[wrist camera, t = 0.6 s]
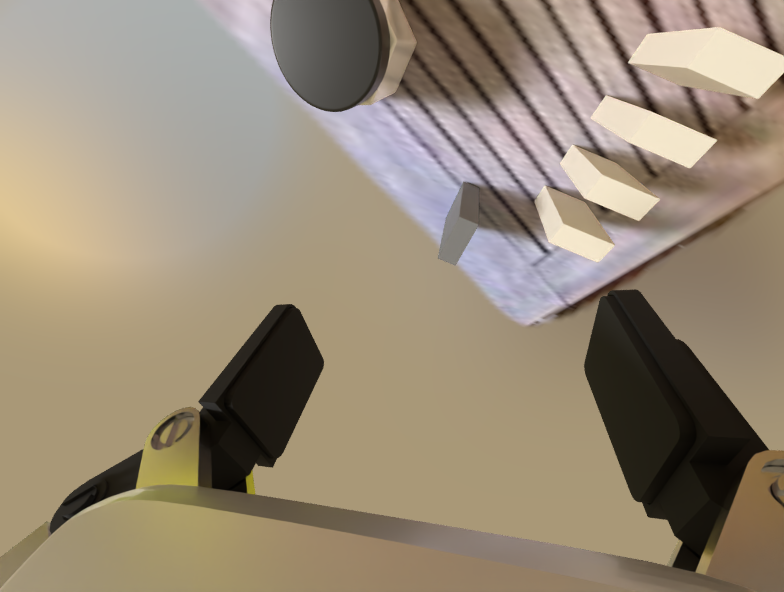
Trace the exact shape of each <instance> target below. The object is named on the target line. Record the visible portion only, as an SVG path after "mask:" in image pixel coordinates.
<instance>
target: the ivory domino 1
mask: <svg viewBox="0 0 784 592" xmlns="http://www.w3.org/2000/svg"><path fill="white" fill-rule="evenodd" d="M628 63H629V64H631V65H634V66H636V67H638V68H641V69H643V70H645V71H647V72H650V73H652V74H654V75H657V76H659V77H661V78H663V79H666V80H668V81H670V82H673V83H675V84H677V85H680V86H686V87H692V88H697V89H703V90H709V91H714V92H720V93H726V94H732V95H737V96H743V97H749V98H755V99H759V98H760V97H761V95H762V94H763V93H764V92H765V91H766V90H767V89H768V88H769V87H770V86H771V85H772V84H773V83H774V82H775V81H776V80H777V79H778V78H779V77H780V76H781V75H782V74H783V73H784V56H783V55H781V54H778V53H776V52H774V51H772V50H770V49H767V48H765V47H763V46H761V45H758V44H756V43H754V42H752V41H749V40H747V39H745V38H743V37H740V36H738V35H736V34H734V33H731V32H729V31H727V30H725V29H723V28H720V27H715V28H705V29H695V30H685V31H674V32H664V33H654V34H647V35H646V37H645V38H644V40H643V41H642V43H641V44H640V46H639V47H638V49H637V50H636V52H635V53H634V55H633V56H632V57H631V59H630V60H629V62H628Z"/></svg>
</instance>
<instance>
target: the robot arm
mask: <svg viewBox="0 0 784 592" xmlns="http://www.w3.org/2000/svg"><path fill="white" fill-rule="evenodd" d="M323 366H324V360H323V357H322V355H321V353H320V351H319V349H318V347H317V345H316V343H315V341H314V339H313V337H312V335H311V333H310V331H309V329H308V327H307V324H306V322H305V320H304V318H303V316H302V314H301V312H300V310H299V309H297V308H296V307H295V306H294V305H292V304H286V305H276V306H274V307H273V309H272V310H271V311H270V313H269V314H268V315H267V316H266V317H265V319H264V320H263V321H262V322H261V324H260V325H259V326H258V328H257V329H256V330H255V331H254V332H253V334H252V335H251V336H250V338H249V339H248V340H247V341H246V342H245V344H244V345H243V346H242V347H241V349H240V350H239V351H238V353H237V354H236V355H235V356H234V358H233V359H232V360H231V362H230V363H229V364H228V365H227V366H226V368H225V369H224V370H223V371H222V373H221V374H220V375H219V376H218V378H217V379H216V380H215V381H214V383H213V384H212V385H211V386H210V388H209V389H208V390H207V391H206V393H205V394H204V395H203V397H202V398H201V399H200V400H199V403H200V404H201V405H202V406H203V408H202V410H201V411H200V412H199V411H198V410H197V409H196V408H193V407H186V408H182V409H179V410H177V411H175V412H173V413H171V414H170V415H168V416H166V417H165V418H164V419H163V420H161V421H160V422H159V423H158V424H157V425H156V426H155V427H154V428H153V430H152V431H151V432H150V434H149V436H148V437H147V439H146V442H145V445H144V449H143V450H141V451H139V452H137V453H136V454H134V455H132V456H130V457H129V458H127V459H125V460H123V461H122V462H120V463H118V464H116V465H115V466H113V467H111V468H110V469H108V470H106V471H104V472H103V473H101V474H99V475H97V476H95V477H94V478H92V479H90V480H89V481H87V482H86V483H84V484H83V485H81V486H80V487H79V488H77V489H76V490H74V491H73V492H72V493H71V494H70V495H69V496H68V497H67V498H66V499H65V500H64V502H63V503H62V504H61V506H60V507H59V509H58V510H57V511H56V513H55V514H54V517H53V519H52V521H51V523H49V522H45V523H44V524H43V525H42V526H40V527H39V528H38V529H36V530H35V531H34V532H32V533H31V534H30V535H28V536H27V537H26V538H25V539H23V540H22V541H21V542H20V543H18V544H17V545H16V546H14V547H13V548H12V549H10V550H9V551H8V552H7V553H5V554H4V555H3V556H1V557H0V592H784V451H775V450H769V449H768V448H767V447H766V445H765V444H764V443H763V442H762V440H761V439H760V438H759V436H758V435H757V434H756V432H755V431H754V430H753V429H752V427H751V426H750V425H749V424H748V422H747V421H746V420H745V419H744V417H743V416H742V415H741V413H740V412H739V411H738V409H737V408H736V407H735V406H734V404H733V403H732V402H731V401H730V399H729V398H728V397H727V395H726V394H725V393H724V392H723V390H722V389H721V388H720V386H719V385H718V384H717V383H716V381H715V380H714V379H713V378H712V376H711V375H710V374H709V373H708V371H707V370H706V369H705V367H704V366H703V365H702V363H701V362H700V361H699V360H698V358H697V357H696V356H695V355H694V353H693V352H692V351H691V349H690V348H689V347H688V346H687V345H686V344H685V343H684V342H683V341H681V340H679V339H678V340H677V339H675V337H674V336H673V335H672V334H671V332H670V331H669V329H668V328H667V327H666V326H665V325H664V323H663V322H662V320H661V319H660V318H659V316H658V315H657V314H656V312H655V311H654V310H653V308H652V307H651V306H650V305H649V303H648V302H647V301H646V299H645V298H644V297H643V295H642V294H641V293H640V292H639V291H638V290H614V291H610V292H609V293H608V295H607V296H603V297H601V298H600V301H599V305H598V310H597V314H596V318H595V322H594V326H593V330H592V334H591V338H590V343H589V347H588V351H587V355H586V359H585V364H584V368H585V374H586V377H587V380H588V382H589V385H590V387H591V390H592V393H593V395H594V398H595V401H596V403H597V406H598V408H599V411H600V414H601V416H602V419H603V422H604V424H605V427H606V430H607V432H608V435H609V438H610V440H611V443H612V445H613V448H614V451H615V453H616V456H617V459H618V461H619V464H620V467H621V469H622V472H623V474H624V477H625V480H626V482H627V484H628V488H629V490H630V493H631V495H632V497H633V498H634V500H636V501H637V502H642V503H643V506H644V508H645V511H646V513H647V516H648V517H650V518H658V519H666V520H668V522H669V524H670V526H671V529H672V531H673V533H674V535H675V536H676V537H677V538H678V539H679V540H678V542H677V544H676V547H675V549H674V551H673V553H672V555H671V558H670V560H669V562H668V565H667V566H665V565H661V564H657V563H652V562H648V561H643V560H637V559H632V558H626V557H621V556H616V555H610V554H605V553H600V552H593V551H589V550H584V549H578V548H573V547H567V546H562V545H557V544H551V543H545V542H539V541H533V540H527V539H521V538H515V537H509V536H503V535H497V534H492V533H486V532H480V531H474V530H467V529H462V528H456V527H450V526H444V525H439V524H432V523H426V522H420V521H414V520H408V519H402V518H396V517H390V516H384V515H378V514H372V513H366V512H359V511H354V510H347V509H341V508H335V507H329V506H322V505H317V504H311V503H304V502H298V501H292V500H285V499H279V498H273V497H267V496H260V495H255V487H254V480H253V471H252V469H253V467H254V465H255V463H256V464H257V465H258V466H265V467H273V466H274V464H275V462H276V459H277V458H278V457H280V456H281V455H282V453H283V452H284V450H285V448H286V445H287V443H288V441H289V439H290V437H291V435H292V433H293V431H294V429H295V426H296V424H297V422H298V420H299V418H300V416H301V414H302V411H303V410H304V408H305V405H306V403H307V401H308V399H309V397H310V395H311V393H312V391H313V388H314V386H315V384H316V382H317V380H318V378H319V376H320V373H321V372H322V369H323Z"/></svg>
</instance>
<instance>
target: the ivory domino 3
mask: <svg viewBox="0 0 784 592" xmlns="http://www.w3.org/2000/svg"><path fill="white" fill-rule="evenodd" d="M560 165H561V166H562V168H563V169H564V170H565V172H566V173H567V175H568V176H569V177H570V179H571V180H572V182H573V183H574V185H575V186H576V187H577V189H578V190H579V192H580V193H581V194H582V196H583V197H584V198H585V199H587V200H590V201H592V202H594V203H597V204H599V205H602V206H604V207H606V208H609V209H611V210H614V211H616V212H618V213H621V214H623V215H625V216H628V217H630V218H633V219H635V220H637V221H639V220H640V219H641V218H642V217H643V216H644V215H645V214H646V213H647V212H648V211H649V210H650V209H651V208H652V207H653V206H654V205H655V204H656V203H657V202H658V201H659V200H660V199H659V198H658V197H657V196H656V195H654V194H653V193H652V192H651V191H650V190H648V189H647V188H646V187H645V186H643V185H642V184H641V183H640V182H639V181H637V180H636V179H635V178H634V177H633V176H631V175H630V174H629V173H628V172H627V171H625V170H624V169H623V168H622V167H620V166H619V165H618V164H617V163H615V162H613V161H610V160H608V159H605V158H603V157H601V156H598V155H596V154H594V153H591V152H589V151H587V150H584V149H582V148H580V147H577V146H575V145H572V146H571V148H570V149H569V151H568V152H567V154H566V155H565V156H564V158H563V159H562V161H561V162H560Z"/></svg>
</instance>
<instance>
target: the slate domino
mask: <svg viewBox="0 0 784 592" xmlns="http://www.w3.org/2000/svg"><path fill="white" fill-rule="evenodd" d="M478 225H479V188H478V187H476V186H473V185H471V184H468V183H466V182H463V184H462V186H461V188H460V190H459V192H458V194H457V196H456V198H455V200H454V202H453V204H452V207H451V209H450V211H449V213H448V215H447V217H446V220H445V225H444V230H443V235H442V240H441V245H440V250H439V255H438V259H441V260H443V261H446V262H448V263H451V264H453V265H456V264H457V262H458V260H459V258H460V257H461V255H462V253H463V251H464V250H465V248H466V246H467V244H468V243H469V241H470V239H471V238H472V236H473V234H474V232H475V231H476V229H477V227H478Z"/></svg>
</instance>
